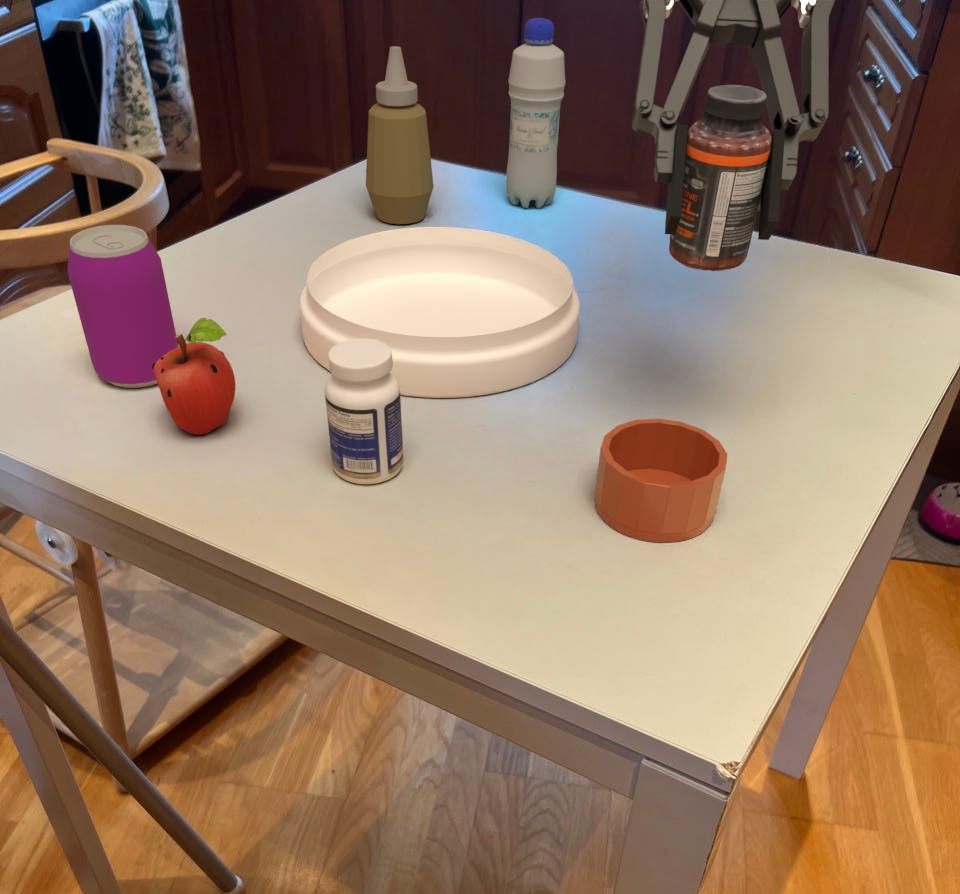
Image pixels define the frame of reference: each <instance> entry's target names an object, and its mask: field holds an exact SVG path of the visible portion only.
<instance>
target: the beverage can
mask: <svg viewBox="0 0 960 894" xmlns="http://www.w3.org/2000/svg"><path fill="white" fill-rule="evenodd" d="M67 259H68V260H67V261H68V262H67V276H68V279H69V283H70V286H71V290H72V294H73V298H74V302H75V305H76V308H77V312H78V317H79V320H80V324H81V327H82V331H83V335H84V339H85V342H86V346H87V349H88V353H89V356H90V360H91V364H92V366H93V370H94V372H95V374H97V376H98V377H99V378H100V379H102V380H105V381H106V382H108V383H109V384H111V385H114V386H115V387H120V388H125V389H140V388H141V389H142V388H148V387H151V386H156V385H158V384H157V381H156V378H155V374H154V370H153V369H152V365H153V364H154V363H156V362H157V361H158V360H159V359H160V358H161V357H162V356H164V355H165V354H166V353H168V352H170V351H171V350H173V349H175V348H177V347H179V344H178V343H177V341H176V339H175V337H177V332H176V327H175V323H174V317H173V312H172V308H171V302H170V298H169V293H168V288H167V283H166V278H165V273H164V269H163V263H162V259H161V257H160V255H159V253H158V251H157V250H156V249H155V247H154V245H153V243H152V242H151V240H150V238H149V236H148V234H147V232H146V231H144V229H142V228H139V227H136V226H132V225H126V224H105V225H99V226H94V227H89V228H85V229H83V230H81V231H79V232H77V233H75V234H73V236H72V237H70V239H69V251H68V258H67Z"/></svg>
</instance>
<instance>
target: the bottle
mask: <svg viewBox="0 0 960 894" xmlns="http://www.w3.org/2000/svg"><path fill="white" fill-rule="evenodd" d="M523 33H524V34H523V39H524V42H525V43H522V44H521V45H520V46H517V47H516V48H515V49H514V50H513V51H512V56H511V63H510V69H509V75H508V76H509V77H508V81H507V82H508V86H509V87H508V89H509V90H508V95H509V98H510V114H509V115H510V117H509V140H508V158H507V164H506V165H507V166H506V173H505V174H506V176H505V187H506V193H507V197H508V199H509V202H510V203H511V204H512V205H514V206H517V205H519V203H520V204H521V206H522V208H524V209H528V208H529V206H530V202H531V201H535V207H536V208H537V209H540V208H542V207H543V206H544V205H546V206H547V205H549V204H551V202H552V201H553V200H554V197H555V194H556V188H557V175H558V165H557V164H558V157H557V156H558V145H559V129H560V118H561V117H560V116H561V115H560V114H561V104H562V103H561V102H562V100H563V99H564V97H565V91H564V90H565V87H566V84H567V83H566V71H565V70H566V67H565V65H566V64H565V53H564V51H563V50H562V49H561V48H559V47H558V46H556V45H555V44H553V42H554V39H555V38H554V37H555V36H554V35H555V26H554V23H553V21H552V20H550V19H548V18H545V17H533V18H530V19H528V20H527V21H526V22H525V24H524V32H523Z"/></svg>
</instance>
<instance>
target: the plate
mask: <svg viewBox="0 0 960 894" xmlns="http://www.w3.org/2000/svg"><path fill="white" fill-rule="evenodd" d="M573 279H574V278H573V276H572V273H571V272H570V269H569V268H568V267H567V265H566V264H565V263H564V262H563V261H562V260H561V259H560V258H559V257H557V256H556V255H554V254H553V252H552V253H551V252H550V251H549V250H547V249H545V248H543V247H541V246H538V245H537V244H535V243H533V242H529V241H527V240H524V239H521V238H518V237H515V236H511V235H507V234H505V233H503V234H502V233H499V232H495V231H489V230H482V229H476V228H468V227H467V228H466V227H456V226H454V227H453V226H417V227H404V228H394V229H389V230H383V231H378V232H373V233H369V234H365V235H361V236H358V237H355V238H351V239H348V240H346V241H344V242H342V243H339V244H337V245H335V246H333V247H331V248H330V249H328V250H326V251H324V252H323V253H322V254H321V255H320V256H318V257H317V258H316V259H315V260H314V261H313V262H312V264H311V266H310V267H309V268H308V271H307V274H306V284H305V285H304V287H303V288H302V291H301V292H300V296H299V314H300V322H301V324H300V325H301V332H302V339H303V342H304V346H305V347H306V349H307V351H308V353H309V354H310V355H311V357H313V360H315V361H316V362H317V363H318V364H320V365H321V366H322V367H324V368H325V369H326V370H327V371H329V372H330V368H329V358H328V354H329V351H330V349H331V348H332V347H333V346H335V345H336V344H338V343H341V342H343V341H346V340H351V339H362V338H364V339H374V340H378V341H381V342H383V343H385V344H387V345H388V346H389V347H390V349H391V352H392V362H393V367H392V370H391V371H390V372H391V373H392V374H393V375H394V376H395V377H396V379H397V380H398V383H399V386H400V396H406V397H416V398H433V399H456V398H471V397H479V396H486V395H487V396H488V395H493V394H498V393H502V392H503V393H504V392H506V391H511V390H514V389H517V388H521V387H524V386H526V385H529V384H532V383H534V382H537V381H539V380H540V379H543V378H545V377H547V376H548V375H549V374H552V373H553V372H555V371H556V370H557V369H558V368H560V367H561V366H562V365H563V364H564V363H565V362H566V361H567V360H568V359H569V358H570V356H571V355H572V353H573V351H574V349H575V347H576V344H577V339H578V333H579V322H580V313H581V305H580V303H581V302H580V299H579V295H578V293H577V291H576V289H575V288H574V280H573Z"/></svg>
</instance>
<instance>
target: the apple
mask: <svg viewBox="0 0 960 894" xmlns="http://www.w3.org/2000/svg"><path fill="white" fill-rule="evenodd" d="M225 336H227V332H226V331H225V330H224V329H223V328H222V327H221V326H220V324H219V323H217V322H216V321H215V320H213V319H211V318H207V317H202V318H199V319H198V320H196V321H195V323H194V324H193V325H192V327H191V329H190V331H189V333H188V334H187V336H186V337H184V335H183V334H182V333H180V334H177V335H176V337H175V339H176V341H177V343H178V347H177V348H175V349H173V350H171V351H170V352H168V353H166V354H165V355H164V356H162V357H161V358H160V359H159V360H158V361H157V362H156V363H154V364H153V365H152V369H153V370H154V374H155V378H156V381H157V384H156V385H157V386H158V389H159V391H160V395H161V398H162V400H163V404H164V405H165V408H166V410H167V412H168V414H169V415H170V417H171V419H172V421H174V423H175V424H176V425H177V426H178V427H179V428H181V429H182V430H184V431H186V432H187V433H189V434H191V435H197V436H198V435H199V436H201V435H206V434H208V433H210V432H211V431H213V430H215V429H217V428H219V427H221V426H223V425H224V424H225V423H226V422H227V420H228V418H229V416H230V412H231V409H232V407H233V403H234V400H235V395H236V377H235V373H234V370H233V367H232V365H231V363H230V361H229V360H228V358H227V357H226V355H225V353H224V352H223V351H222V350H219V349H218V347H216V346H214V345H212V344H210V343H207V342H216V341H219V340H221V339H222V338H223V337H225Z"/></svg>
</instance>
